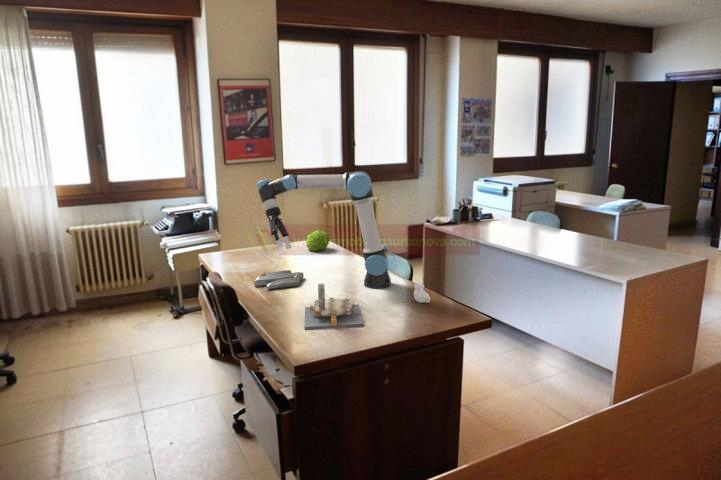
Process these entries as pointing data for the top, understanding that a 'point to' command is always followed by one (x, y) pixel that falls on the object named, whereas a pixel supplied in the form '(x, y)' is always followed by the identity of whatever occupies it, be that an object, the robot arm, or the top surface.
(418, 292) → the duck figurine
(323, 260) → the top surface
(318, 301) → the white lobed piece
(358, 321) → the sprocket stand
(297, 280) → the grey flat lobed piece
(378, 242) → the robot arm
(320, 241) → the lettuce
